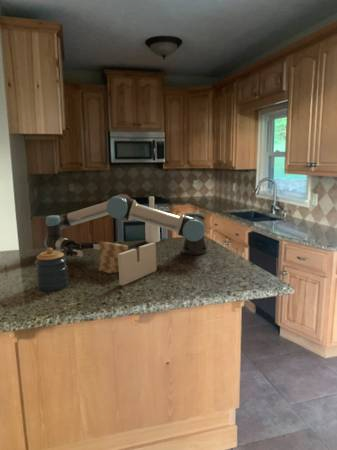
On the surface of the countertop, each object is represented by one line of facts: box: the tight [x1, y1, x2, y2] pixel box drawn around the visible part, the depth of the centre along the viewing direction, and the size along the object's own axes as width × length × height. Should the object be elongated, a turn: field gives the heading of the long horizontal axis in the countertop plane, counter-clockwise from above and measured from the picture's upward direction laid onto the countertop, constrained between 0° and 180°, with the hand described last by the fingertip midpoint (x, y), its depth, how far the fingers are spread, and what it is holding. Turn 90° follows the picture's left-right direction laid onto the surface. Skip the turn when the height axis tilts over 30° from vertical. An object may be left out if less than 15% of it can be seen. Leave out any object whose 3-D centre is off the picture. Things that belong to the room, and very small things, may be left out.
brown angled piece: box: [98, 240, 129, 274], centre depth 167 cm, size 18×6×14 cm, turn 54°
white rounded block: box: [144, 196, 161, 244], centre depth 226 cm, size 10×10×30 cm
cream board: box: [118, 242, 157, 286], centre depth 158 cm, size 24×2×14 cm, turn 144°
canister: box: [34, 248, 69, 293], centre depth 149 cm, size 13×13×18 cm
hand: (92, 250), depth 176 cm, fingers open, 13 cm apart
